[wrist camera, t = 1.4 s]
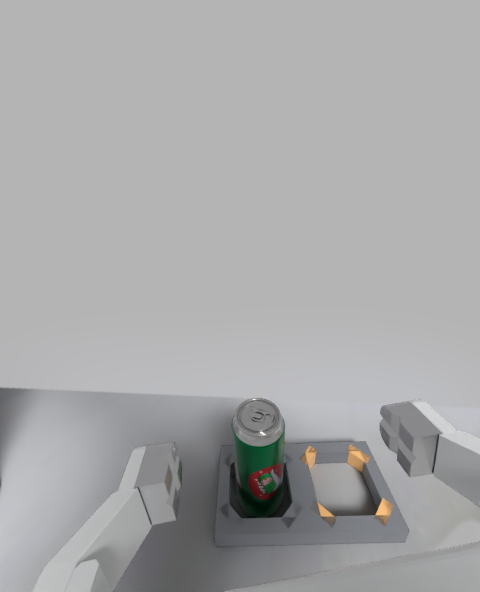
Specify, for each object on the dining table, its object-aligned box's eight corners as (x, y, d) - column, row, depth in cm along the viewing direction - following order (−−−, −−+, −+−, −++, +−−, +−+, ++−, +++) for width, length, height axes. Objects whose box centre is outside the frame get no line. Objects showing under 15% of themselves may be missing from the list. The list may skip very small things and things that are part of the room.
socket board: (216, 546, 25) (214, 535, 24) (222, 456, 33) (221, 445, 32) (405, 542, 24) (409, 530, 24) (363, 452, 33) (365, 441, 32)
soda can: (244, 466, 32) (240, 390, 27) (285, 478, 30) (288, 400, 26) (230, 511, 27) (222, 431, 23) (277, 528, 26) (280, 445, 21)
